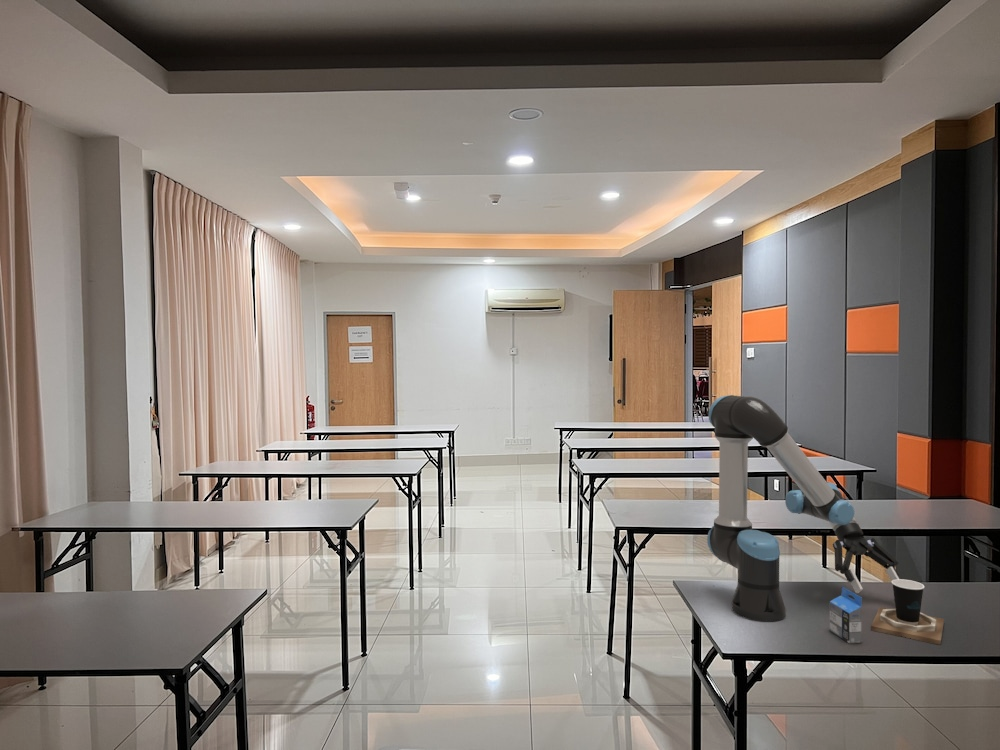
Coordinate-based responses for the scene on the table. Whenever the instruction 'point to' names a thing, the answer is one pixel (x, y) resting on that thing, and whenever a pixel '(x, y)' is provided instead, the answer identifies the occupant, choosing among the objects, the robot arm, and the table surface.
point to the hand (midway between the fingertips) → (880, 590)
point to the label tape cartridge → (846, 616)
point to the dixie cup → (907, 600)
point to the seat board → (909, 626)
